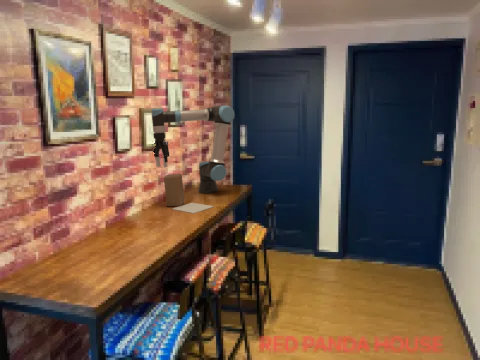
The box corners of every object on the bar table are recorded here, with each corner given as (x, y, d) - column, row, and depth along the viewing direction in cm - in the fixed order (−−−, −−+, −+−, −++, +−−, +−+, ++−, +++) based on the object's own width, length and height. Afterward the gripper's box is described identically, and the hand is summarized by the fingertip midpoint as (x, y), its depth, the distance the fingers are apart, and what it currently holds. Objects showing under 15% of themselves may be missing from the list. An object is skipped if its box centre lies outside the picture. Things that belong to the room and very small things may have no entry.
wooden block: (185, 202, 250) (182, 173, 247) (181, 206, 240) (178, 175, 237) (170, 203, 251) (167, 174, 248) (166, 207, 241) (163, 176, 238)
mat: (192, 203, 249) (192, 202, 249) (214, 206, 236) (214, 206, 236) (171, 209, 235) (171, 208, 235) (193, 213, 223) (193, 213, 223)
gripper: (145, 132, 247) (148, 166, 251) (164, 132, 235) (167, 168, 239) (154, 132, 253) (157, 165, 257) (173, 132, 240) (176, 167, 245)
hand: (162, 166), depth 248 cm, fingers open, 7 cm apart
